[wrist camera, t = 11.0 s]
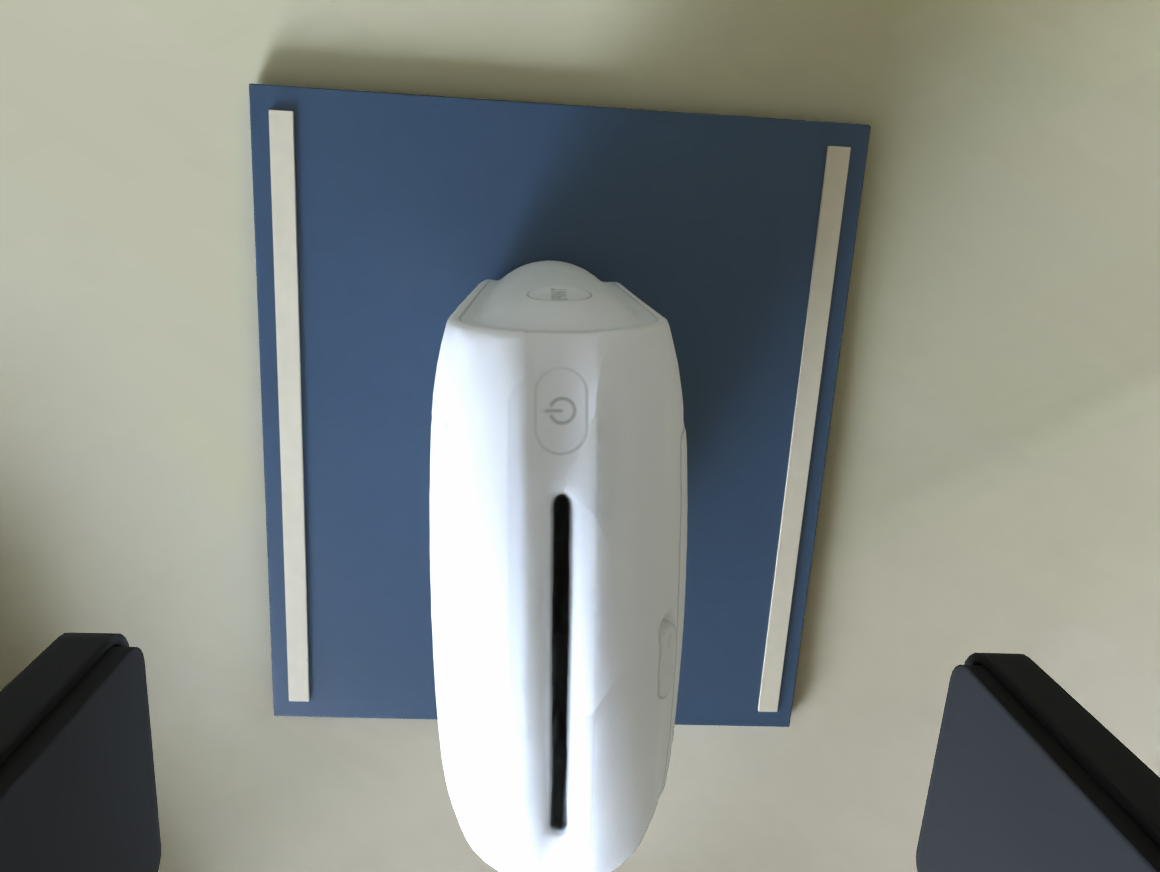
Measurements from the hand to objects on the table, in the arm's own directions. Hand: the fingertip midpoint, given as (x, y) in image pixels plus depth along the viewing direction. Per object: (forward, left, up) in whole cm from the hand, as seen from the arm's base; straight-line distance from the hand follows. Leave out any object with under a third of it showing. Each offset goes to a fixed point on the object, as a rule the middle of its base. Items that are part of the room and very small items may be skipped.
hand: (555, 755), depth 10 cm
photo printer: (0, 0, -15) cm, 15 cm away
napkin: (0, 0, -15) cm, 15 cm away
